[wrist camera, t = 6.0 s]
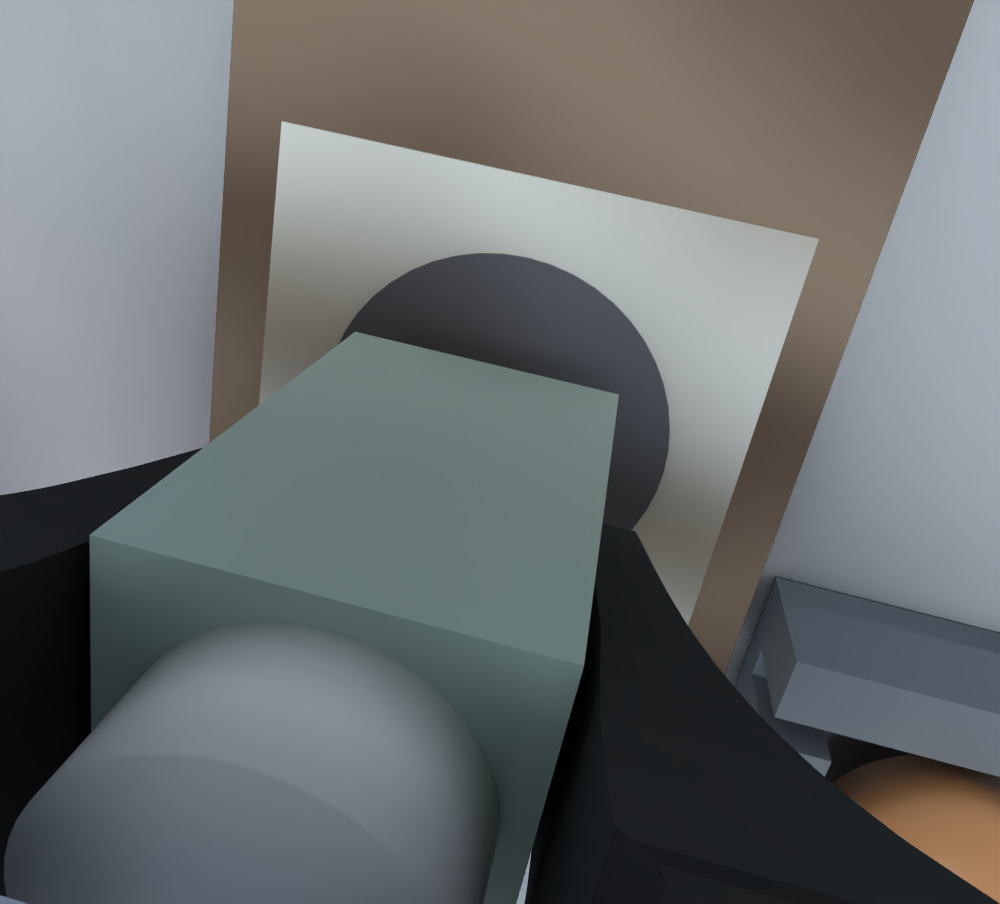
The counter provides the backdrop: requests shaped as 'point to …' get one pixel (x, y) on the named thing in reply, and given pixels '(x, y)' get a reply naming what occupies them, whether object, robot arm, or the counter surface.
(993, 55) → the counter surface
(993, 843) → the button
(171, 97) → the counter surface
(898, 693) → the button housing
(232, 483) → the green square bottle
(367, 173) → the drawing board
